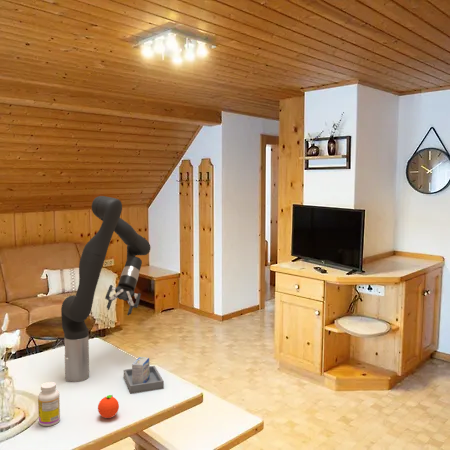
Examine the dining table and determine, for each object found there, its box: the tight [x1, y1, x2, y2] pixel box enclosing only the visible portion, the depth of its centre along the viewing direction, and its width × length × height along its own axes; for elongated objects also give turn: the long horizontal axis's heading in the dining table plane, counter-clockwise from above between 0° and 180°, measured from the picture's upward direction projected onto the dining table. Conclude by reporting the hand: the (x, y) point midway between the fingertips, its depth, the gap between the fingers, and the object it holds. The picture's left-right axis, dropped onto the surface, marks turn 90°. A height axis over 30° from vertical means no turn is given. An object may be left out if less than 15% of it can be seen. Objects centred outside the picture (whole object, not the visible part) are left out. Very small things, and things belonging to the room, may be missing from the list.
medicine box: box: [131, 356, 150, 385], centre depth 185 cm, size 8×4×9 cm, turn 170°
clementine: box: [97, 394, 120, 419], centre depth 160 cm, size 8×7×7 cm
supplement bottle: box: [37, 381, 61, 427], centre depth 156 cm, size 7×7×13 cm
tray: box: [123, 365, 165, 394], centre depth 186 cm, size 13×16×3 cm
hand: (118, 312), depth 199 cm, fingers open, 8 cm apart
